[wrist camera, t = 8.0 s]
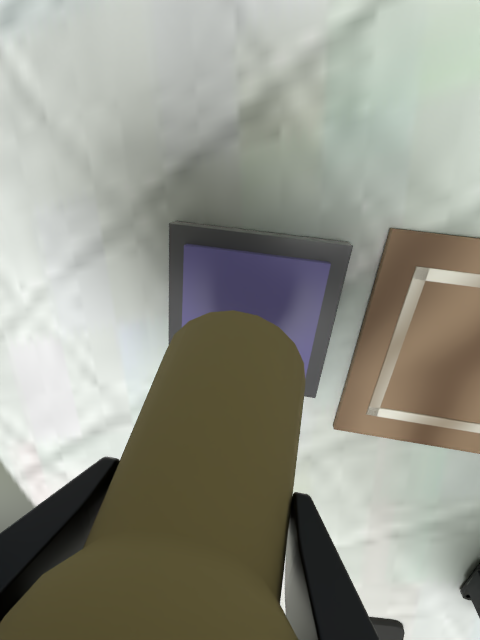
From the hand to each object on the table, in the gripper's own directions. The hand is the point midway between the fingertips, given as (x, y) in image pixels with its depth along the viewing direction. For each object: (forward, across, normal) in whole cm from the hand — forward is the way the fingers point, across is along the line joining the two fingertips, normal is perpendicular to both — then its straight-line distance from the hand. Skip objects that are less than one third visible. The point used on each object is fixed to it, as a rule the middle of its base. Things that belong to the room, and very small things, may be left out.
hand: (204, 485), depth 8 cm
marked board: (+13, -14, +1) cm, 19 cm away
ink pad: (+13, 0, 0) cm, 13 cm away
